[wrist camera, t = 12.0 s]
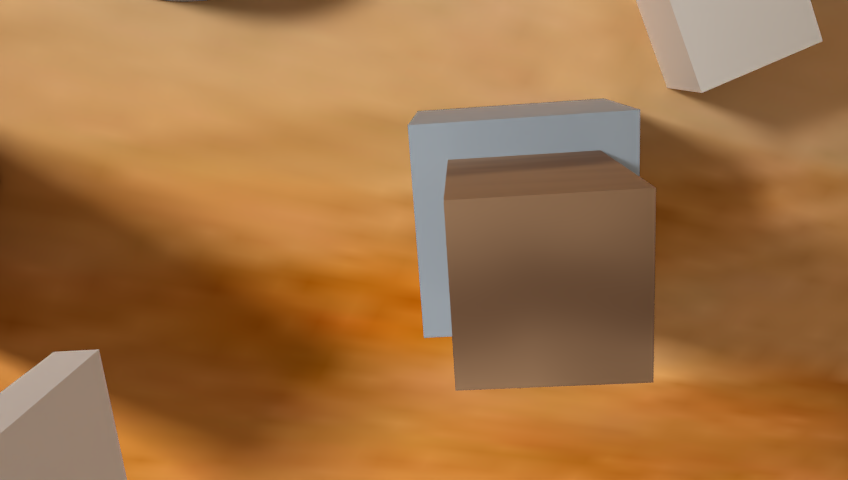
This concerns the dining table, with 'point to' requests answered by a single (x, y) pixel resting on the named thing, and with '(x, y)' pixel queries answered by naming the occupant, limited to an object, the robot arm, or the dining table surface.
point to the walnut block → (550, 271)
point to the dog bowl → (185, 0)
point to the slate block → (493, 137)
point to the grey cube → (724, 37)
